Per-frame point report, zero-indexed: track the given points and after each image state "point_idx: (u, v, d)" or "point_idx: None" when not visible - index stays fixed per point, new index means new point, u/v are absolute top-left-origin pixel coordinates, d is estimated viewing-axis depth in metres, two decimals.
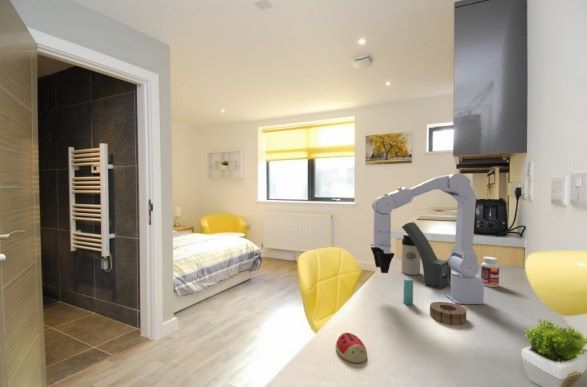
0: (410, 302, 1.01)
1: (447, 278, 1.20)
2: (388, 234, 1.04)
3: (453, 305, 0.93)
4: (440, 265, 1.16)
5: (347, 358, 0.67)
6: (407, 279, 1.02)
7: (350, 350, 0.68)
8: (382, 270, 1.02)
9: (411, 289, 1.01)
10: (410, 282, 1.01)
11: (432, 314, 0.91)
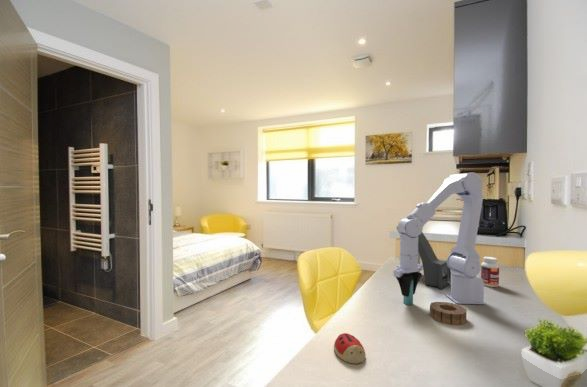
0: (410, 302, 1.01)
1: (447, 278, 1.20)
2: (409, 258, 0.99)
3: (453, 305, 0.93)
4: (440, 265, 1.16)
5: (346, 359, 0.67)
6: None
7: (348, 351, 0.67)
8: (402, 292, 1.02)
9: (411, 289, 1.01)
10: None
11: (432, 314, 0.91)
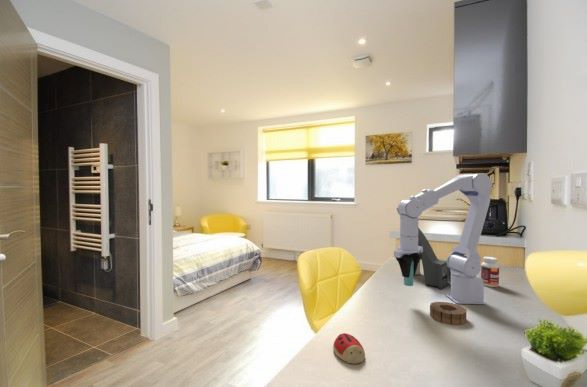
0: (411, 283, 1.01)
1: (447, 278, 1.20)
2: (409, 239, 0.99)
3: (453, 305, 0.93)
4: (440, 265, 1.16)
5: (345, 359, 0.67)
6: None
7: (348, 351, 0.67)
8: (402, 273, 1.01)
9: (411, 270, 1.01)
10: None
11: (432, 314, 0.91)
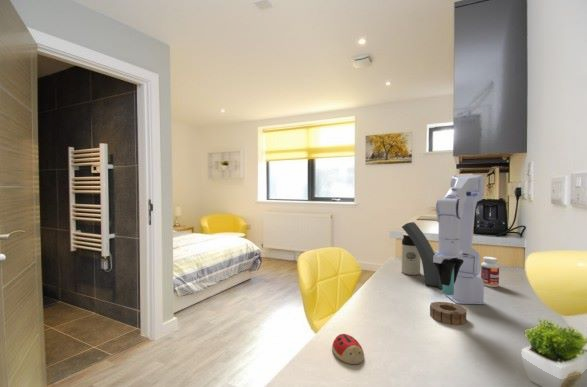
0: (451, 292, 0.90)
1: None
2: (450, 242, 0.88)
3: (453, 305, 0.93)
4: None
5: (345, 360, 0.67)
6: None
7: (347, 352, 0.67)
8: (442, 281, 0.90)
9: (452, 277, 0.90)
10: None
11: (432, 314, 0.91)
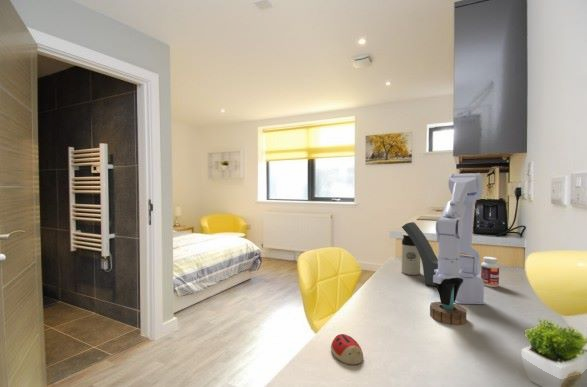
0: None
1: None
2: (450, 262, 0.88)
3: None
4: None
5: (344, 360, 0.67)
6: None
7: (347, 352, 0.67)
8: (441, 300, 0.90)
9: (452, 297, 0.90)
10: None
11: (432, 314, 0.91)
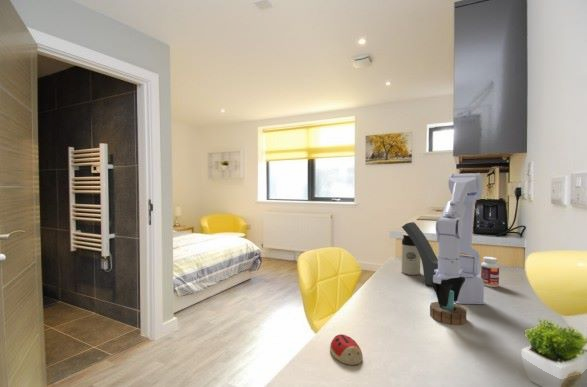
0: None
1: None
2: (450, 262, 0.88)
3: None
4: None
5: (343, 360, 0.66)
6: None
7: (346, 352, 0.67)
8: (439, 301, 0.89)
9: (452, 302, 0.90)
10: (451, 294, 0.90)
11: (432, 314, 0.91)
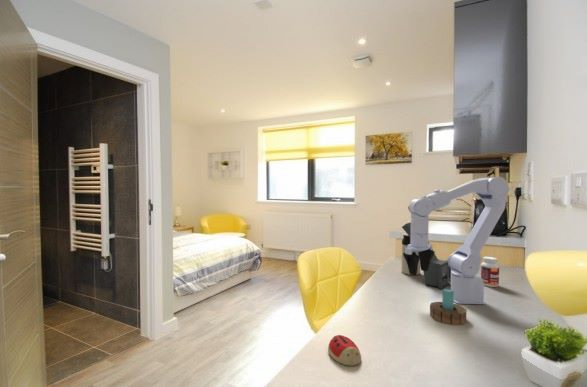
0: None
1: (447, 278, 1.20)
2: (420, 236, 1.03)
3: None
4: (440, 265, 1.16)
5: (342, 361, 0.66)
6: (446, 290, 0.91)
7: (345, 353, 0.66)
8: (410, 271, 1.04)
9: (452, 302, 0.90)
10: (451, 294, 0.89)
11: (432, 314, 0.91)
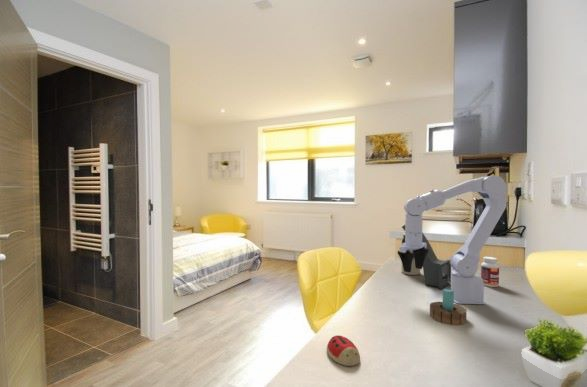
0: None
1: (447, 278, 1.20)
2: (414, 235, 1.06)
3: None
4: (440, 265, 1.16)
5: (341, 362, 0.66)
6: (447, 290, 0.91)
7: (344, 353, 0.66)
8: (404, 269, 1.07)
9: (452, 302, 0.90)
10: (451, 294, 0.90)
11: (432, 314, 0.91)
